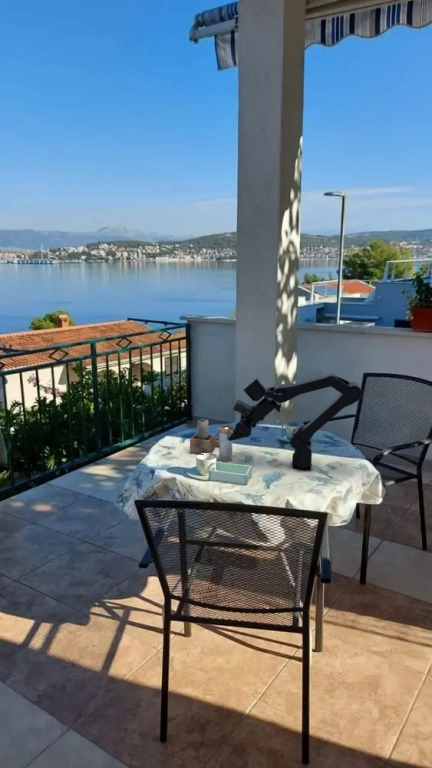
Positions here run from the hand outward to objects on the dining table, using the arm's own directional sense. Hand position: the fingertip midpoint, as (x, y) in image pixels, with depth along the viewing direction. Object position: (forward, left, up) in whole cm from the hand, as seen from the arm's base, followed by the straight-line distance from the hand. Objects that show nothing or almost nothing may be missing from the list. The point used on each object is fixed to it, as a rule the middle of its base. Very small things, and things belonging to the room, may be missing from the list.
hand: (231, 436), depth 187 cm
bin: (+13, -6, -10) cm, 17 cm away
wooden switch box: (+10, -15, -10) cm, 20 cm away
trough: (-4, +16, -10) cm, 19 cm away
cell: (+2, 0, -10) cm, 10 cm away
